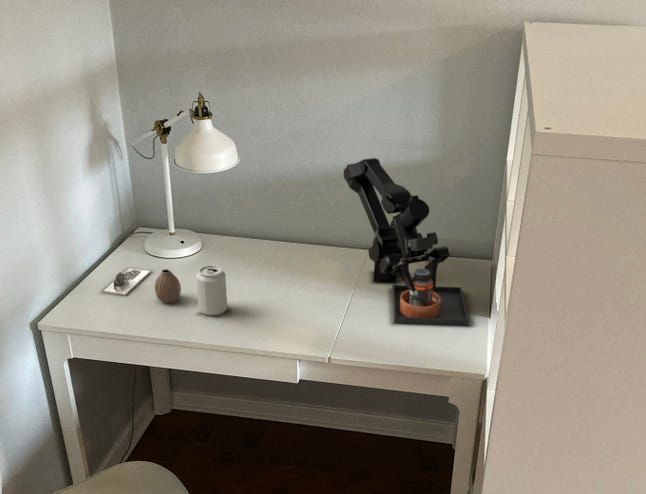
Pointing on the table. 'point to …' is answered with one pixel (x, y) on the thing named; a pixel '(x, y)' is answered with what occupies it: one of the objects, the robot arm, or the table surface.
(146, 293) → the table surface
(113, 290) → the rock on white stand
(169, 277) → the vase
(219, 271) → the can
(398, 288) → the tray
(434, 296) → the bowl
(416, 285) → the supplement bottle
